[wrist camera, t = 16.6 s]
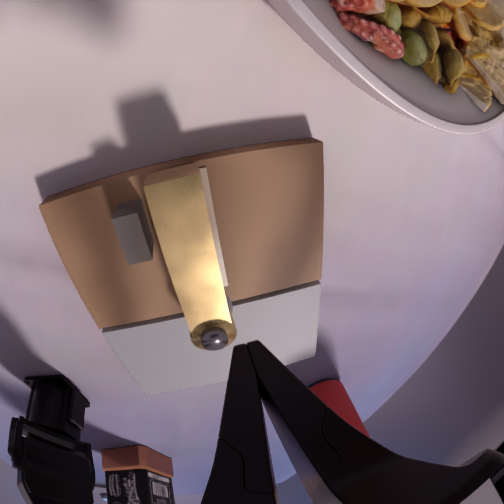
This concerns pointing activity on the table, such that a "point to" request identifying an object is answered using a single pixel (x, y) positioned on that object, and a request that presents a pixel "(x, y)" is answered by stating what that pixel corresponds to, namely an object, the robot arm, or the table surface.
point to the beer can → (338, 402)
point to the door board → (221, 220)
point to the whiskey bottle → (137, 476)
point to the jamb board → (218, 362)
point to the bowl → (413, 54)
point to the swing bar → (190, 253)
